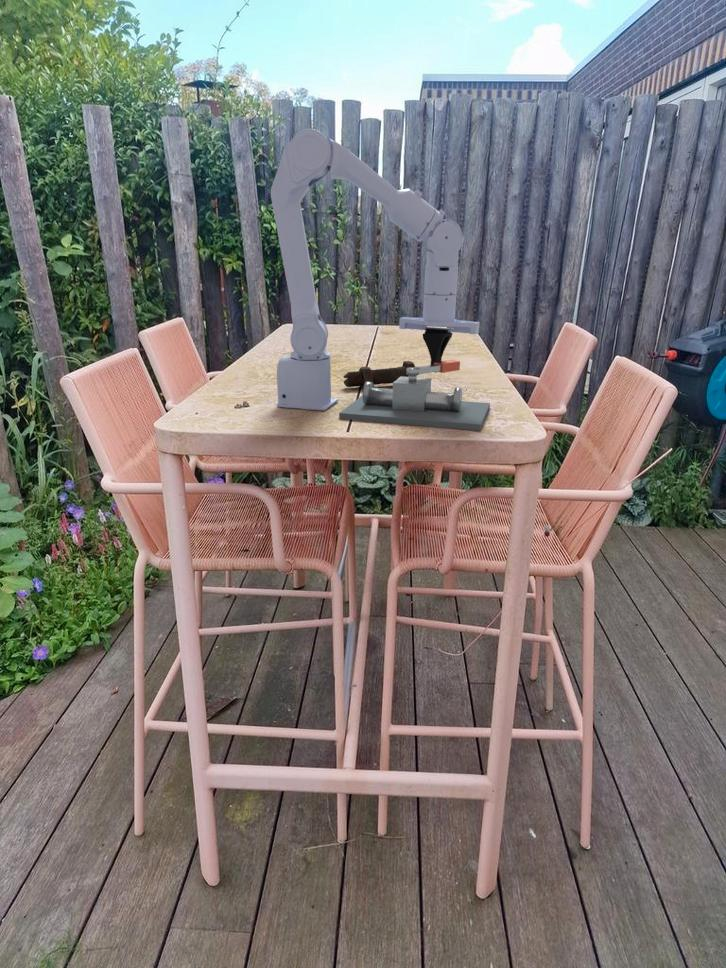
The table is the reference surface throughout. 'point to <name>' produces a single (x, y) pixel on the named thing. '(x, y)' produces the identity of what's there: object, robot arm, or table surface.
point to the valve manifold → (412, 396)
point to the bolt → (376, 375)
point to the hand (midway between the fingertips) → (435, 371)
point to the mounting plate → (420, 415)
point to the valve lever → (435, 367)
